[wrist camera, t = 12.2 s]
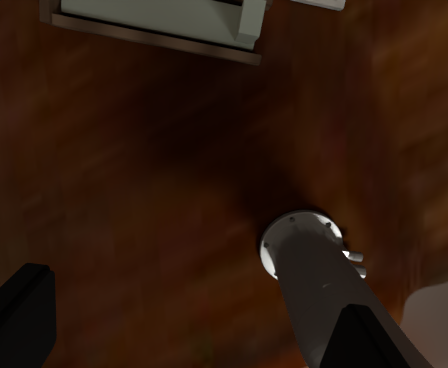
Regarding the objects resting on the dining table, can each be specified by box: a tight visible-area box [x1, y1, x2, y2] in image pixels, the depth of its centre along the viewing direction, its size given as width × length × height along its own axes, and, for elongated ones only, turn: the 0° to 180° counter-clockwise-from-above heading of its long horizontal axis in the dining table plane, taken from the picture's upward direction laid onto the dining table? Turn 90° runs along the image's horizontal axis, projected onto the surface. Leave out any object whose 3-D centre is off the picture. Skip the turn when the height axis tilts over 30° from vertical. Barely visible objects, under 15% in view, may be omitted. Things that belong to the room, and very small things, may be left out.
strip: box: [61, 0, 266, 51], centre depth 29 cm, size 22×4×7 cm, turn 80°
